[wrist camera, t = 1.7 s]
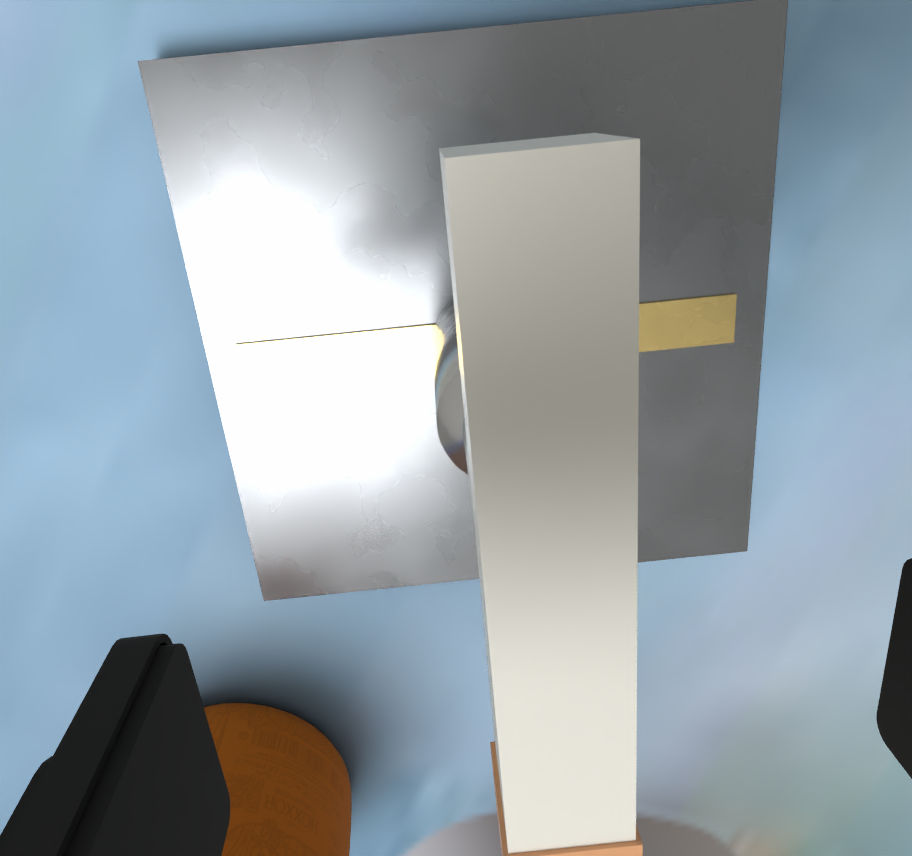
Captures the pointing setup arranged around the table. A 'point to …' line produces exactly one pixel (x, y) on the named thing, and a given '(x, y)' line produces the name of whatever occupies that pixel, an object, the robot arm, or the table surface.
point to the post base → (429, 275)
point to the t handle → (553, 473)
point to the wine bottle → (280, 783)
